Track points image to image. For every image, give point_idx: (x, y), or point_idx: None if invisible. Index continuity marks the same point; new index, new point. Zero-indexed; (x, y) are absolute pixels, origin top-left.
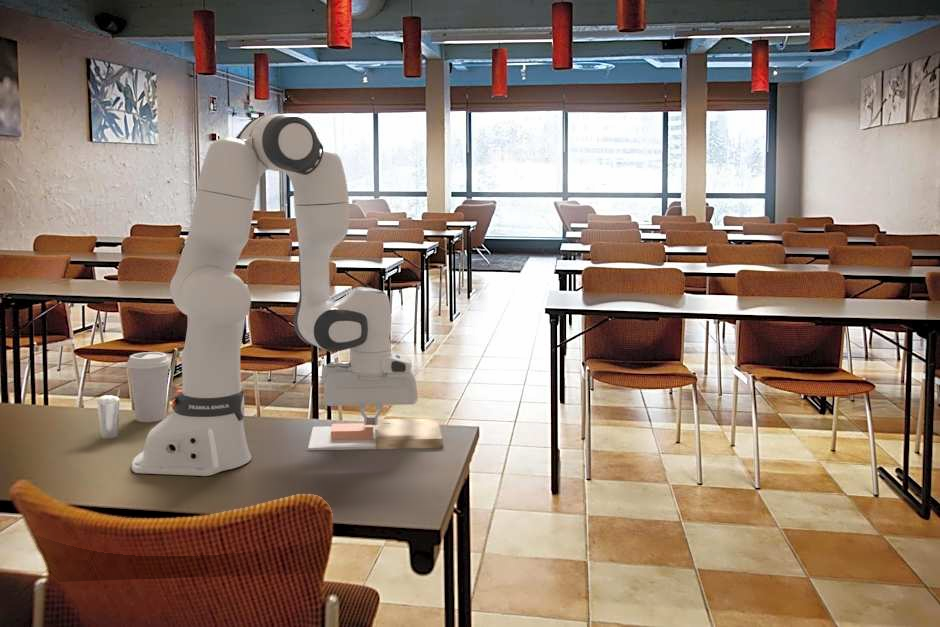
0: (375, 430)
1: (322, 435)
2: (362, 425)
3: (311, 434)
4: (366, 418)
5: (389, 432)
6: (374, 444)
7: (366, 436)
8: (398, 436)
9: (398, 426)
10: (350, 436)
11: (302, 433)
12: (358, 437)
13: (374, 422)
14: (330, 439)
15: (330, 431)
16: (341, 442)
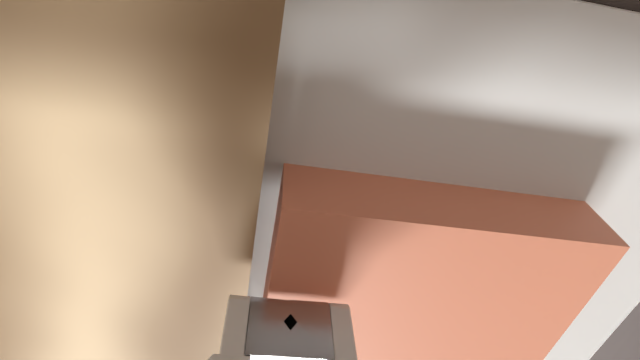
0: None
1: None
2: None
3: (624, 317)
4: (334, 352)
5: (129, 184)
6: (292, 28)
7: (339, 184)
8: (10, 28)
9: (61, 308)
10: (463, 202)
11: (623, 353)
12: (400, 189)
13: (257, 310)
14: None
15: None
16: (539, 143)
